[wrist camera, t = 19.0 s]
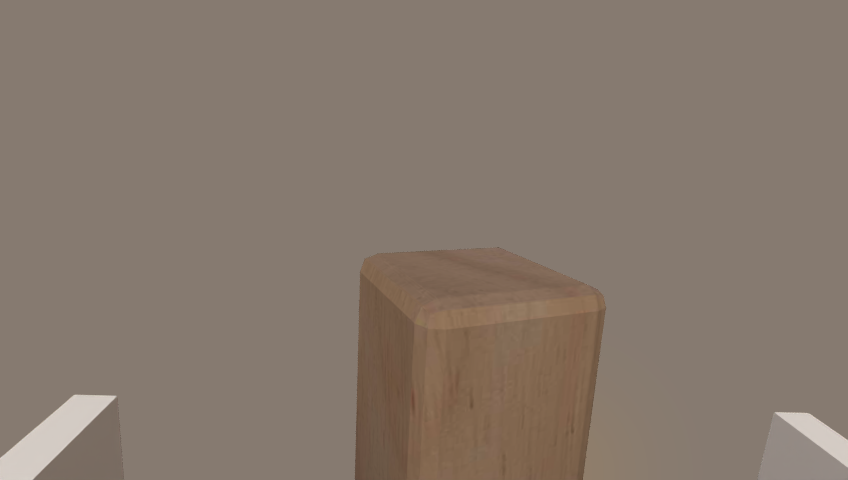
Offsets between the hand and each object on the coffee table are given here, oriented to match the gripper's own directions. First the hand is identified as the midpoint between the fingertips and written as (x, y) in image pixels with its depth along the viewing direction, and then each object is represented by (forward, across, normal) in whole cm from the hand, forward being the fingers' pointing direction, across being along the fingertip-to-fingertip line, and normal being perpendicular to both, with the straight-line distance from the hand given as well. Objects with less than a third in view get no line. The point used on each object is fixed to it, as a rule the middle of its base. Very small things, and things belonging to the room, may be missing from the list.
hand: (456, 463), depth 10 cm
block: (+16, +3, -21) cm, 26 cm away
